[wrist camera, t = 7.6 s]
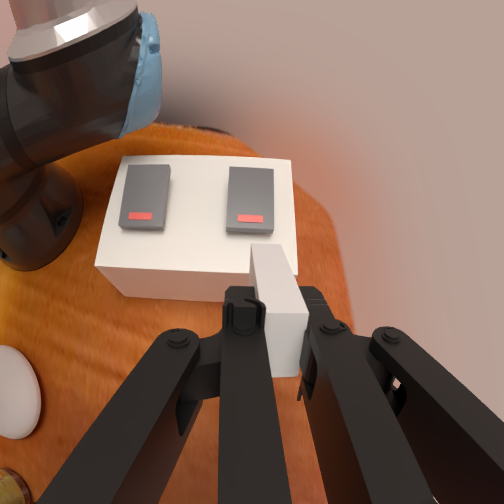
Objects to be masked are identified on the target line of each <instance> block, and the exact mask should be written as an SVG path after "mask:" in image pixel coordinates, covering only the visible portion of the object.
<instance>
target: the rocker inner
mask: <svg viewBox="0 0 504 504" xmlns="http://www.w3.org/2000/svg"><path fill="white" fill-rule="evenodd" d="M170 174H171V168H170V165H169V164H145V165H128V169H127V174H126V179H125V185H124V191H123V196H122V203H121V209H120V216H119V222H118V226H120V227H121V228H122V229H154V230H164V223H165V214H166V205H167V197H168V189H169V181H170Z"/></svg>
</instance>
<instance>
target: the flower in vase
mask: <svg viewBox="0 0 504 504" xmlns="http://www.w3.org/2000/svg"><path fill="white" fill-rule="evenodd" d="M40 410H41V394H40V388H39V384H38V381H37V378H36V375H35V373H34V371H33V369H32V367H31V365H30V363H29V362H28V360H27V359H26V358H25V357H24V355H23V354H22V353H21V352H19V351H18V350H17V349H15V348H13V347H11V346H7V345H0V435H2V436H4V437H6V438H9V439H22V438H24V437H26V436H28V435H29V434H30V433H31V432H32V431H33V430H34V428H35V426H36V424H37V422H38V419H39V415H40Z"/></svg>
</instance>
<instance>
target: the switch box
mask: <svg viewBox="0 0 504 504" xmlns="http://www.w3.org/2000/svg"><path fill="white" fill-rule="evenodd" d="M145 164H169V165H170V168H171V174H170V181H169V189H168V197H167V205H166V214H165V223H164V230H154V229H122V228H121V227H120V226H118V222H119V216H120V209H121V203H122V196H123V191H124V185H125V179H126V174H127V169H128V165H145ZM229 166H232V167H252V168H269V169H274V231H273V234H269V233H246V232H226V217H227V199H228V182H229ZM251 243H261V244H281V246H282V248H283V251H284V253H285V255H286V258H287V260H288V263H289V265H290V268H291V270H292V272H293V275H294V277H295V279H296V277H297V276H298V265H297V246H296V229H295V213H294V199H293V185H292V172H291V161H290V160H284V159H270V158H254V157H235V156H206V155H139V156H123V157H122V160H121V163H120V166H119V170H118V173H117V176H116V180H115V183H114V186H113V190H112V193H111V197H110V201H109V204H108V208H107V212H106V216H105V220H104V224H103V228H102V232H101V237H100V241H99V246H98V250H97V255H96V260H95V265H94V266H95V267H96V268H97V269H98V270H99V271H100V272H101V273H102V274H103V275H104V276H105V277H106V278H107V279H108V280H109V281H110V282H111V283H112V284H113V285H114V286H115V287H116V288H117V289H118V290H119V291H120V292H121V293H122V294H123V295H124V296H126V297H139V298H153V299H169V300H186V301H206V302H224V298H225V291H226V290H227V289H228V288H229V287H230V286H249V269H250V250H251Z"/></svg>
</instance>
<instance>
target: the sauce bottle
mask: <svg viewBox="0 0 504 504" xmlns="http://www.w3.org/2000/svg"><path fill="white" fill-rule="evenodd" d="M30 501H31V497H30V492H29V490H28V488H27V486H26V485H25V483H24V482H23V480H22V479H21V477H20V476H19V475H17V474H16V473H15V472H13V471H11V470H9V469H4V468H2V469H0V504H30Z"/></svg>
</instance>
